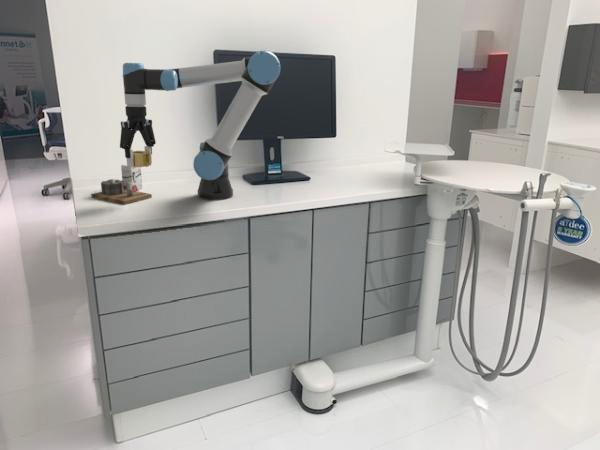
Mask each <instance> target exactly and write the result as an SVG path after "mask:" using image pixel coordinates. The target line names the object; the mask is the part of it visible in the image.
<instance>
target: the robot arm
mask: <svg viewBox="0 0 600 450" xmlns="http://www.w3.org/2000/svg"><path fill="white" fill-rule="evenodd" d="M281 66H282V65H281V63H280V59H279V58H278V57H277V55H275V54H274V52H271V51H269V50H259V51H257V52H255V53H254V54H253V55H252V56H248V57H243V58H242V60H237V61H230V62H229V61H227V62H219V63H212V64H204V65H202V64H201V65H197V66H196V65H195V66H186V67H179V68H169V69H163V68H162V69H157V68H156V69H155V68H154V69H153V68H152V69H151V68H150V69H149V68H145V67H144V63H141V62H138V63H137V62H124V63H123V64H122V78H123V79H122V80H123V91H124V95H123V96H124V104H125V105H126V106H124V107H125V116H126V117H127V119H126V121H121V122H120V126H121V127H120V128H121V129H120V140H119V148H120V149H122V150H124V157H125V159H126V164H127V166H130V167H134V164H133V151H134V150H133V149H132V145H133V142H134V137H135V135H136V134H137V131H138V132H139V133H140V135H141V137H142V139H143V142H144V144H145V145H144V147H143V148H144V151H149V152H151V155H153V147H154V146H155V145H156V136H155V133H154V128H153V120H152V119H148V118H146V117H147V107H146V105H147V100H146V91H149V90H150V91H166V92H169V91H176V90H177V89H182V88H191V87H200V86H209V85H217V84H225V83H226V84H227V83H233V82H241V85H240V87H239V89H238V90H237V92H236V94H235V95H234V98H233V99H232V101H231V103H230V104H229V106H228V109H227V110H226V112H225V114H224V115H223V117H222V119H221V121H220V122H219V124H218V126H217V127H216V129H215V131H214V133H213V135H212V137H211V138H206V139H205V140H204V141H202V142H200V145H199V151H198V153H197V154H196V155H195V157H193V163H192V164H193V165H192V166H193V170H194V172H195V173H196V175H197V176H198V177H199V178H200V181H199V184H198V189H197V197H198V198H201V199H205V200H224V199H229V198H232V197H233V196H234V189H233V187H232V184H231V181H230V177H229V175H230V174H229V173H230V172H229V163H230V160H231V158H232V157H233V152H232V148H233V147H234V144H235V143H236V141H237V140H238V138H239V137H240V134H241V132H242V131H243V129H244V128H245V126H246V124H247V123H248V121H249V119H250V117H251V115H252V114H253V112H254V110H255V109H256V107H257V105H258V103H259V101H260V100H261V99H262V97H263V96H265V95H268V94H269V92H270V90H272V88H273V86H274V84H275V82H276V80H278V78H279V76H280V74H281V71H282V70H281ZM152 158H153V157H151V164H152V162H153V161H152Z"/></svg>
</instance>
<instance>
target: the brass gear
mask: <svg viewBox="0 0 600 450" xmlns="http://www.w3.org/2000/svg"><path fill="white" fill-rule="evenodd" d="M151 158H152V154H151V152H149V151H145V150H133V164H134V167H141V168H143V167H146V168H147V167H150V166H152V163H151Z"/></svg>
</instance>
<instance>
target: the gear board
mask: <svg viewBox="0 0 600 450" xmlns="http://www.w3.org/2000/svg"><path fill="white" fill-rule="evenodd" d="M100 187H101V191H99V192H94V193H91V194H90V195H91V198H92V199H95V200H96V199H97V200H101V201H105V202H111V203H116V204H120V205H129V204H133V203H137V202H140V201H145V200H148V199H151V198H152V195H153V194H152V193H148V192H141V191H139V190H137V191H133V190H132V182H126V189H124V181H122V180H120V179H115V178H110V179H107V180H103V181H101V183H100Z"/></svg>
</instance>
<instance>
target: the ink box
mask: <svg viewBox="0 0 600 450" xmlns="http://www.w3.org/2000/svg"><path fill="white" fill-rule="evenodd" d="M120 166H121V167H120V169H121V178H122V179H121V181H124V189H126V182H132V190H133V191H140V190H141V189H143V182H142V181H143V178H142V177H143V176H142V167H130V166H127V163H124V164H121V165H120Z"/></svg>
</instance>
